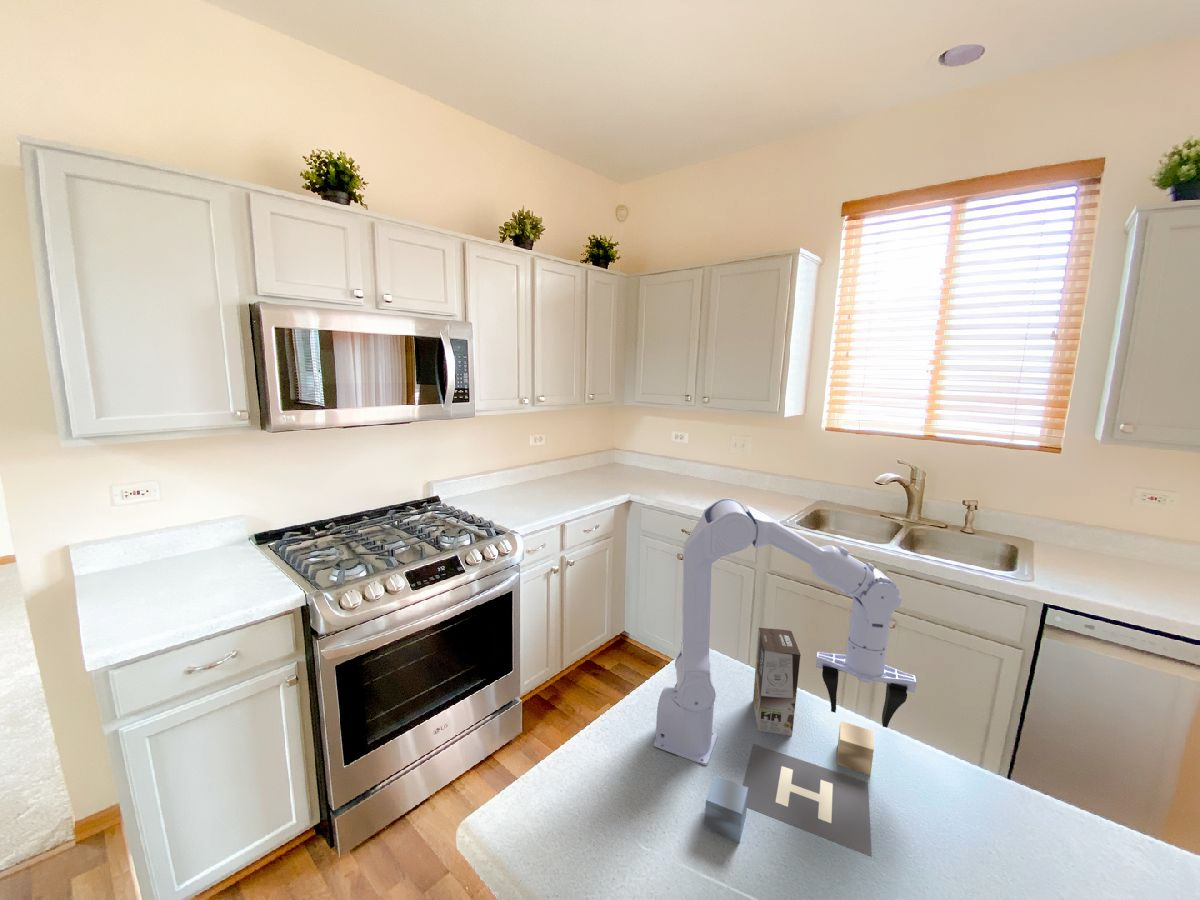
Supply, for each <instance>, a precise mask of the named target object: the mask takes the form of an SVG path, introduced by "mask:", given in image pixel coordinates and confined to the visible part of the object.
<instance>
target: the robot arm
mask: <svg viewBox="0 0 1200 900" xmlns="http://www.w3.org/2000/svg"><path fill="white" fill-rule="evenodd" d="M745 507H746V509H747V511H746V509H745ZM745 507H744V505H743V504H742V503H741V502H739V501H738V500H737V499H733V498H730V497H729V498H727V497H726V498H725V497H724V498H721V499H719V500H717V501H715V502H714V503H712V504H711V505H709V506H708V507H706V508H705V509H704V510H703V513H702V515H701V517H700V519H699V521H698V522H697V524H696V525H695V526H694V528H693V529H692V531H691V532H690V534H689V535H688V537H687V538H686V539H685V541H684V543H683V548H682V549H683V553H682V554H683V555H682V600H681V601H682V604H681V605H682V609H681V610H682V611H681V615H682V616H681V641H680V649H679V653H678V654H677V656H676V657H675V661H674V667H675V670H676V671H675V673H676V683H675V684H674V687H672V686H664V688H663V689H662V691H661V693H660V694H659V698H658V701H657V702H658V703H657V709H656V719H655V720H656V722H655V724H656V725H655V739H654V742H653V745H654V748H657V749H660V750H663V751H665V752H668V753H670V754H673V755H676V756H679V757H681V758H684V759H687V760H689V761H693V762H694V763H698V764H700V765H703V766H708V764H709V762H710V759H711V756H712V754H713V750H714V748H715V745H716V743H717V740H718V736H719V735H718V733H716V732H713V725H714V724H713V723H714V713H715V712H714V708H715V702H716V697H717V693H716V688H715V686H714V684H713V683H714V682H713V677H712V672H711V662H710V633H711V632H710V631H711V629H710V628H711V597H712V595H711V594H712V565H713V563H715V562H716V561H718V560H719V559H721V558H722V557H725V556H729V555H731V554H735V553H737V552H741V551H743V550H745V549H747V548H748V547H750V546H751V545H753V547H754V549H758V548H760V547H763V546H766V545H772V546H773V547H775V548H777V549H780V550H782V551H783V552H785V553H787V554H789V555H790V556H793V557H795V558H797V559H799V560H800V561H803V562H804V563H807V565H810V569H811V572H812V575H813V576H814V577H816V578H818V579H820V580H821V581H823V582H825V583H827V584H829V585H830V586H832V587H833V588H835V589H836V590H839V591H841V592H842V593H844V594H846V595H847V596H851V597H852V603H851V611H850V617H849V618H850V619H849V627H848V636H847V644H846V645H847V646H846V651H845V653H846V654H840V653H829V652H820V651H817V653H816V661H815V667H816V668H818V669H822V673H821V675H822V680H823V682H824V686H826V690H827V693H828V695H829V696H828V697H829V701H830V712H832V713H836V712H837V693H838V686H839V673H840V672H842V673H845V674H849V675H851V676H852V677H856V679H857V680H858V681H859V682H862V683H865V684H868V685H869V684H870V685H871V684H873V682H875V683H877V682H878V683H883V684H886V687H885V697H884V698H885V700H884V703H883V708H882V713H881V714H882V716H881V723H882V724H881V725H882V727H883V728H888V727H889V724H890V721H891V720H892V718H893V716H894V714H895V713H896V712H897V710H898V709H899V708H900V707H901V706H902V705H903V704H904V703H905V702H906V701H907V699H908V692H909V693H910V692H911V693H914V694H915V693H916V689H917V688H916V686H917V679H916V675H914V674H910V673H907V672H904V671H902V670H900V669H896V668H894V667H891V666H889V665H886V660H887V652H888V645H889V644H888V643H889V637H890V636H889V635H890V628H891V621H892V616H893V614H894V612H895V611H896V610H897V609H899V607H900V605H901V604H902V600H903V598H902V597H901V596H900V590H899V588H898V587H897V585H896V583H895V582H894V581H893V580H891V578H889V577H888V576H886V574H884V573H883V572H882V571H881V570H880V569H878V568H876V566H875V565H873V564H872V563H870V562H868V561H867V562H865V563H864V562H862V561H860V559H857V558H855V557H853V556H852V555H850V551H849V550H848V549H847V548H846V547H844V546H842V545H839V546H838V547H836V546H834V545H832V544H828V545H822V546H818V545H816V544H815V543H813V542H812V541H810V540H808V539H807V538H806V537H803V536H802V535H800V534H798V533H797V532H796V531H793V530H792V529H790V528H789V527H787V526H786V525H784V524H782V523H781V522H779V521H778V520H777V519H774V518H772V517H771V516H769V515H767V514H765V513H763V512H761V511H759V510H757V509H755V507H754V508H753V507H752V506H749V505H746V504H745ZM907 691H908V692H907Z"/></svg>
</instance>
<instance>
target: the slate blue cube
mask: <svg viewBox="0 0 1200 900" xmlns="http://www.w3.org/2000/svg"><path fill="white" fill-rule="evenodd" d="M747 797H748V787H745V786H743V784H740V783H737V782H734V781H732V780H729V779H726V778H724V777H722V776H719V775H715V774H714V775H713V778H712V781H711V784H710V787H709V790H708V792H707V796H706V799H705V810H704V825H703V829H705V830H707V831H709V832H711V833H714V834H716V835H718V836H720V837H722V838H726V839H727V840H730V841H733V842H735V843H737V844H740V843H741V839H742V835H743V830H744V825H745V822H746V819H747V818H746V817H747V809H748V808H747Z"/></svg>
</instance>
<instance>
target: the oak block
mask: <svg viewBox="0 0 1200 900" xmlns="http://www.w3.org/2000/svg"><path fill="white" fill-rule="evenodd" d="M838 730H839V732H838V739H837V755H836V765H839V766H841V767H843V768H848V769H850V770H853V771H856V772H859V773H861V774H865V775H868V776H871V775H872V768H873V767H872V766H873V758H874V751H875V749H874V735H873V734H874V731H873V730H871V729H869V728H865V727H862V726H859V725H855V724H851V723H849V722H844V721H841V720H840V721H839V729H838Z"/></svg>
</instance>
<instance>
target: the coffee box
mask: <svg viewBox="0 0 1200 900" xmlns="http://www.w3.org/2000/svg"><path fill="white" fill-rule="evenodd" d="M756 643H757V644H756V645H757V646H756V655H755V656H756V657H755V658H756V659H755V670H754V671H755V672H754V682H753V683H754V685H753V686H754V687H753V697H752V699H753V700H752V702H753V710H754V716H755V721H756V728H757V731H759V732H764V733H769V734H777V735H782V736H791V737H792V736H793V731H794V723H795V721H794V719H795V712H796V703H797V691H798V682H799V673H800V662H801V652H800V650H799V647H798V644H797V641H796V639H795V637H794V634H793V632H792V630H788V629H782V628H781V629H779V628H768V627H758V633H757V641H756Z"/></svg>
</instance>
